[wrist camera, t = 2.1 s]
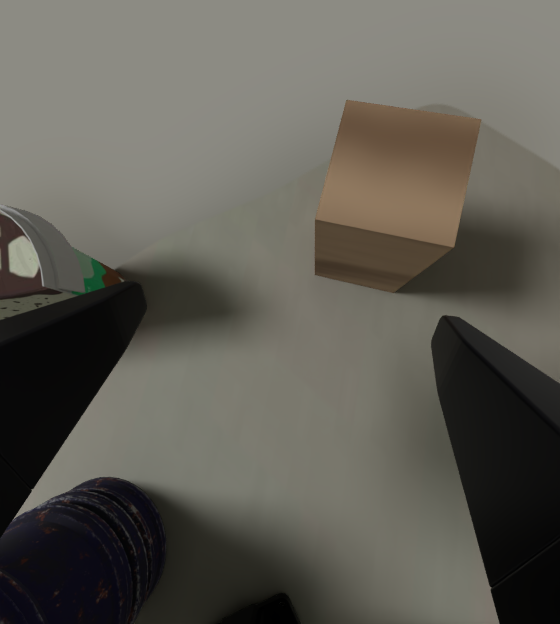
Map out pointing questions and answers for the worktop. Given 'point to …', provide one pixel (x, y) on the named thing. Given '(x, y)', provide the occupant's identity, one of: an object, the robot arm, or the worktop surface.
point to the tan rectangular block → (392, 193)
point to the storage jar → (82, 557)
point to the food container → (42, 265)
